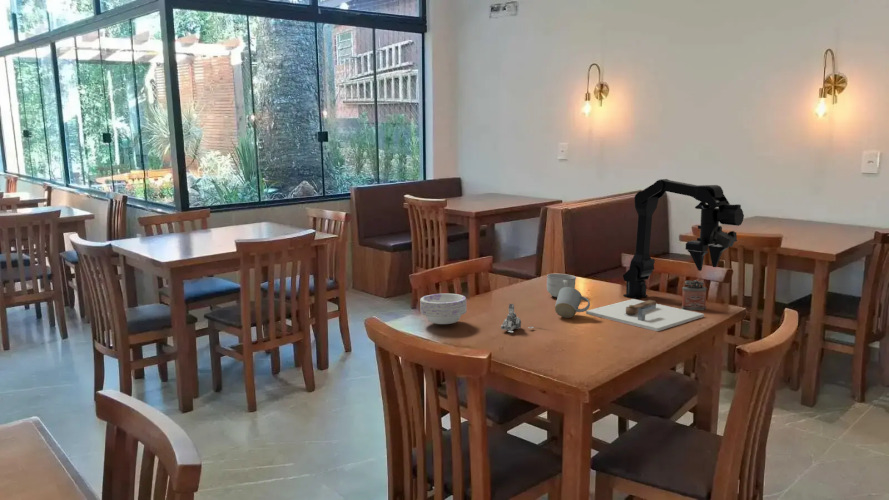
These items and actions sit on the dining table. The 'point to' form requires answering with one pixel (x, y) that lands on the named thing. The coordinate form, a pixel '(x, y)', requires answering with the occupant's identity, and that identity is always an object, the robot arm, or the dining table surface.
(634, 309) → the link
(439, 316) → the white speckled bowl
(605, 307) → the pivot board
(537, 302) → the dining table surface
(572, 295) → the ceramic mug
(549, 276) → the teacup
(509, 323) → the grey irregular piece
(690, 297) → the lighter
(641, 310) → the keeper
